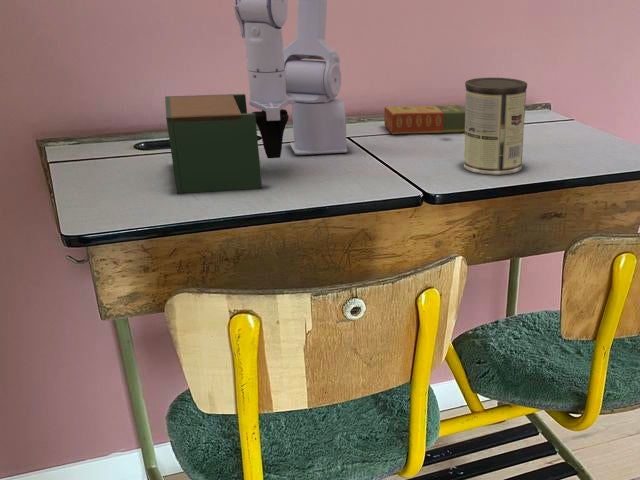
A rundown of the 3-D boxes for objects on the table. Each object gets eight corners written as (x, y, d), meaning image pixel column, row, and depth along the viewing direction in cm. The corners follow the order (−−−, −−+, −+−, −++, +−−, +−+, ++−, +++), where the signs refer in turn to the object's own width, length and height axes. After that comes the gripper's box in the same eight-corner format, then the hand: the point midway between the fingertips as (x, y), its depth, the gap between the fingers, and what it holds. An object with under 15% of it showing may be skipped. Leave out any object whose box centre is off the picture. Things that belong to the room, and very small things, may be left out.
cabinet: (251, 161, 142) (244, 93, 137) (262, 188, 128) (255, 114, 123) (174, 165, 139) (164, 96, 133) (177, 193, 125) (166, 117, 119)
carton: (384, 126, 169) (383, 105, 167) (458, 124, 173) (459, 103, 171) (392, 135, 162) (392, 113, 160) (469, 132, 166) (470, 110, 164)
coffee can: (473, 157, 148) (475, 75, 141) (528, 163, 145) (533, 79, 138) (454, 171, 139) (457, 84, 133) (513, 177, 137) (518, 89, 130)
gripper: (297, 76, 123) (303, 167, 130) (287, 62, 135) (293, 145, 142) (249, 77, 121) (257, 169, 128) (243, 63, 133) (251, 147, 140)
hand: (273, 157), depth 135 cm, fingers closed, pressing on trinket box
